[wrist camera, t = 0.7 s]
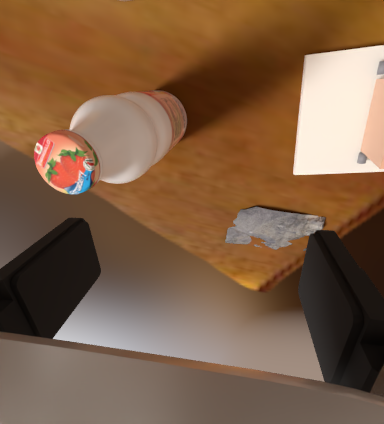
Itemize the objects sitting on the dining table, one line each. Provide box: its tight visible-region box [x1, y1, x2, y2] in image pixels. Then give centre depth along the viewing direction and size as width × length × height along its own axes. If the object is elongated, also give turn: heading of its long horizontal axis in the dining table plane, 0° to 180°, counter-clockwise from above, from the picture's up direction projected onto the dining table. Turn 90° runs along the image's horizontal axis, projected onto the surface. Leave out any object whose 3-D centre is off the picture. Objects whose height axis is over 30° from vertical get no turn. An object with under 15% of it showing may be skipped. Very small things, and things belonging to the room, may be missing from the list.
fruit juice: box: [34, 90, 187, 194], centre depth 30 cm, size 9×9×28 cm
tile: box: [360, 78, 384, 169], centre depth 31 cm, size 10×10×1 cm
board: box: [293, 45, 384, 175], centre depth 36 cm, size 18×20×2 cm
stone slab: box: [225, 207, 326, 251], centre depth 49 cm, size 18×2×10 cm
